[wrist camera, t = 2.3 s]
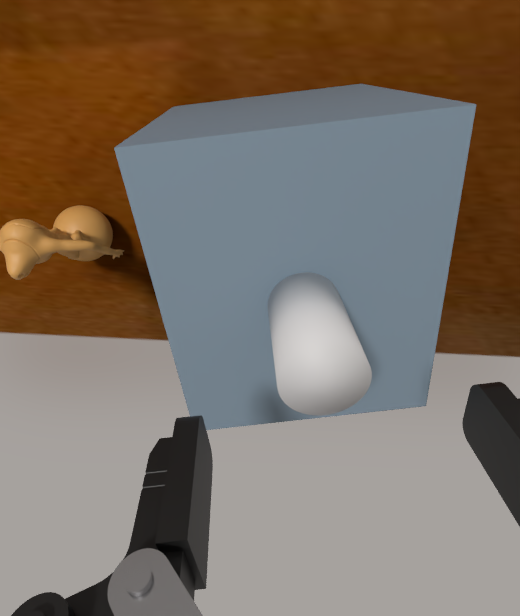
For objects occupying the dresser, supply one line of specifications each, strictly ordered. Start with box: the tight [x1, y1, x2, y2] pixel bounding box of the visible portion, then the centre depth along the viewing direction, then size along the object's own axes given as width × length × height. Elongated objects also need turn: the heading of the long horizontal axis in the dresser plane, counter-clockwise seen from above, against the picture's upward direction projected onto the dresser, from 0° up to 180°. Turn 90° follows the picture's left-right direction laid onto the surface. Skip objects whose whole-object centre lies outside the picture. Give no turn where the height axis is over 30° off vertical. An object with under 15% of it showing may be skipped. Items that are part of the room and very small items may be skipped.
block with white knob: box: [114, 84, 476, 430], centre depth 22 cm, size 13×15×20 cm
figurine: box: [0, 205, 125, 280], centre depth 25 cm, size 8×6×12 cm
